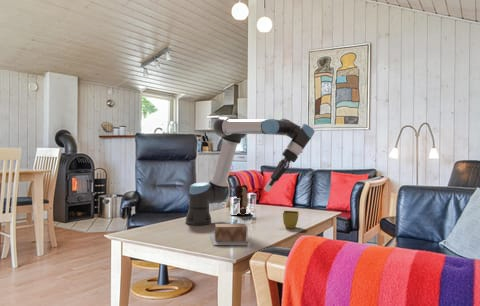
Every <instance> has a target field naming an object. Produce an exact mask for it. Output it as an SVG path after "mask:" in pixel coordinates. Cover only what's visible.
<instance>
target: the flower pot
mask: <svg viewBox="0 0 480 306" xmlns="http://www.w3.org/2000/svg"><path fill="white" fill-rule="evenodd" d="M299 213H300V211H298V210H283V212H282V220H283V225H284V227H285V228H286V229H293V228H294V229H296V227H297V225H298V222H299V215H300V214H299Z"/></svg>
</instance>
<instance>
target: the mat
mask: <svg viewBox="0 0 480 306" xmlns="http://www.w3.org/2000/svg"><path fill="white" fill-rule="evenodd" d="M209 237H210V241H211V240H212V241H211V243H213V244H212V246H213V245H247V243H246V242H216V241H215V235H210V236H209ZM247 246H248V245H247Z"/></svg>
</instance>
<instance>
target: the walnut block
mask: <svg viewBox="0 0 480 306" xmlns="http://www.w3.org/2000/svg"><path fill="white" fill-rule="evenodd" d="M248 228H249V227H248V225H247V224H246V223H214V236H215V241H216V242H248V237H249V235H248V234H249V233H248V230H249V229H248Z"/></svg>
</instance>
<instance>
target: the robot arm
mask: <svg viewBox="0 0 480 306" xmlns="http://www.w3.org/2000/svg"><path fill="white" fill-rule="evenodd" d="M213 132H214V133H215V134H216V135H217V136H218V137H221V140H222V144H221V148H220V151H219V155H218V160H217V162H216V166H215V171H214V174H213V177H212V178H210V179H209V182H203V181H202V182H195V183H193V184H190V186H189V192H188V193H189V195H188V197H189V199H188V212H187V214H186V217H185V223H186V224H187V225H191V226H192V225H193V226H207V225H211V224H212V216H211V213H210V205H212V204H221V203H224V202H226V201H228V199H229V197H230V195H231V193H230V192H231V190H230V187H229V183H228V179H229V174H230V172H231V167H232V165H233V160H234V156H235V153H236V149H237V147H238V145H240V144H241V142H242V139H244V138H245V137H246V136H247V135H275V136H286V137H289V138H290V139H291V141H289V143H288V145H287V146H286V148H285V149H284V150H283V152H282V156H283V158H282V159H281V160H280V161H279V162H278V163H277V165H276V167H275V169H274V171H273V173H272V174H271V175H270V179H269V181H268V182H267V183H266V185H265V186H264V188H263V190H264V191H266V192H267V193H269V192H271V189H272V188H273V186H274V185H275V183H277V182H278V181H280V179H281V177H282V176H283V175H284V174H285V172H286V171H287V169H289V168H290V163H291V162H292V163H295V162H296V161H297V160H298V158H299V156H300V154H301V153H303V152H304V151H303V150H304V149H305V148H306V146H307V144H308V143H309V142H310V140H311V139H312V137H313V136H314V134H315V129H314V128H313V127H311V126H310V125H309V124H306V123H302V125H298V124H297V123H294V122H293V121H291V120H289V119H286V118H285V117H284V118H281V119H274V118H265V119H262V118H261V119H242V118H237V117H231V116H230V117H227V116H220V117H218V118H217V119H215V121H214V122H213Z"/></svg>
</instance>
